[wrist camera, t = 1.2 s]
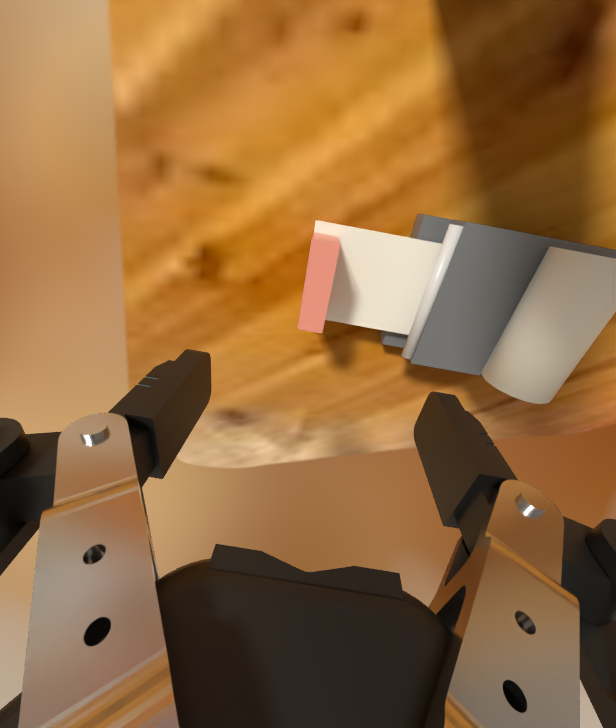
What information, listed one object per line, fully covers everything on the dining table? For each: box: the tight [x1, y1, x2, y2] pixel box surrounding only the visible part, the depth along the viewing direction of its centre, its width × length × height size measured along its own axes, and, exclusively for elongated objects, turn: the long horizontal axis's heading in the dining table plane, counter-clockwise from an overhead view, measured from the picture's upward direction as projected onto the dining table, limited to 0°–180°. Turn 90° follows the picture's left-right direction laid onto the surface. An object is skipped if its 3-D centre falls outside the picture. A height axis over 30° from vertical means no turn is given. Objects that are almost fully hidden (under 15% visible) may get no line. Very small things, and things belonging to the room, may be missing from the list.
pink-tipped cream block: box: [298, 220, 442, 335], centre depth 22 cm, size 8×20×6 cm, turn 81°
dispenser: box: [379, 214, 616, 404], centre depth 22 cm, size 11×14×9 cm
